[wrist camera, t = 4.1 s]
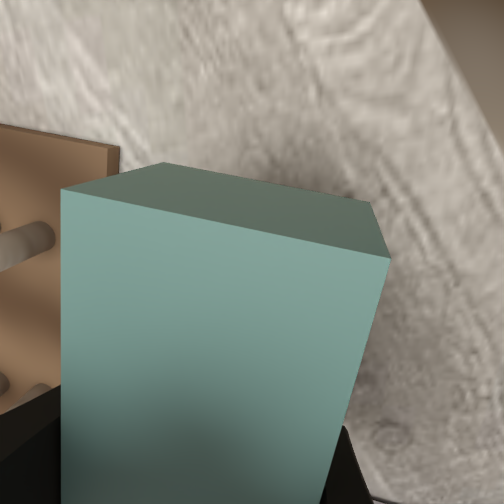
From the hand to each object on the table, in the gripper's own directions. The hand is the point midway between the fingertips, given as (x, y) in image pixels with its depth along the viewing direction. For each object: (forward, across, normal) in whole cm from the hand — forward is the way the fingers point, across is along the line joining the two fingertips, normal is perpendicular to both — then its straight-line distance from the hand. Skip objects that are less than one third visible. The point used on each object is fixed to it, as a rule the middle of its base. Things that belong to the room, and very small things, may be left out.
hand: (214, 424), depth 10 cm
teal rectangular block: (+1, 0, 0) cm, 1 cm away
